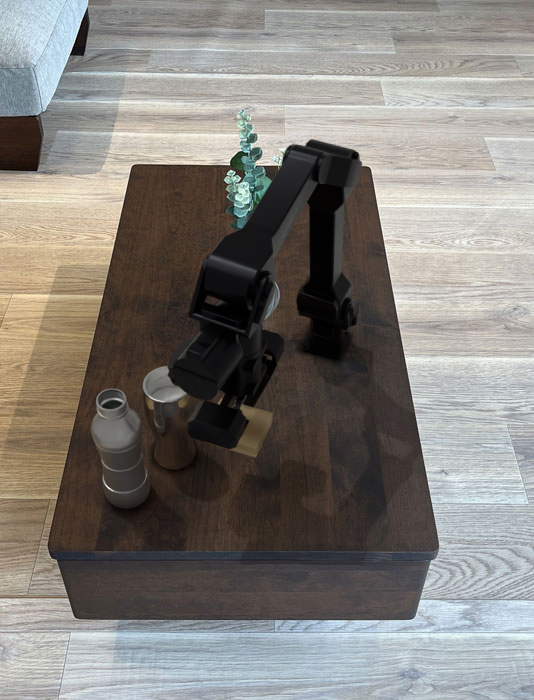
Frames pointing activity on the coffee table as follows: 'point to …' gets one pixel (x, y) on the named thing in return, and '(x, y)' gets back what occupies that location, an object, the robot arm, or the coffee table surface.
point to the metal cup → (168, 419)
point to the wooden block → (253, 430)
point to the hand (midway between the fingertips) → (238, 427)
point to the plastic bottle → (120, 450)
